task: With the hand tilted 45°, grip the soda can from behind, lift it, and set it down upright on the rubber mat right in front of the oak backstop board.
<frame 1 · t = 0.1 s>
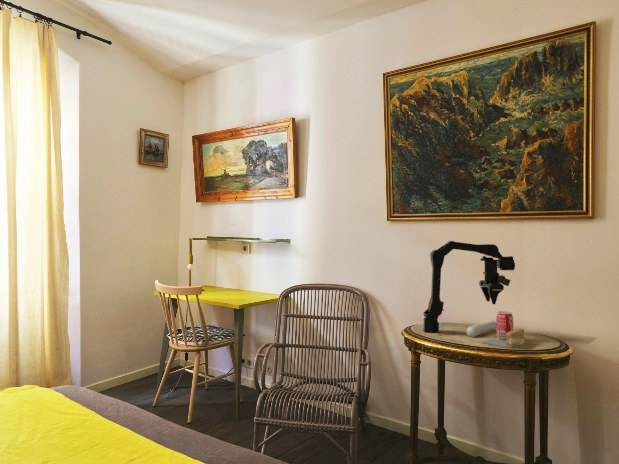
hand: (491, 302, 209), 15 cm above the table, tool pointing down, fingers open, 9 cm apart
soda can: (504, 339, 198), on the table
backstop: (515, 345, 186), on the table
tube: (481, 334, 210), on the table
mat: (499, 344, 188), on the table
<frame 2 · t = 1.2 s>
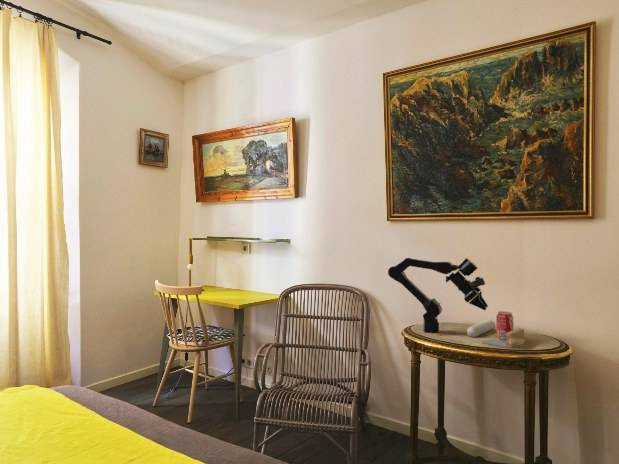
hand: (486, 308, 201), 13 cm above the table, tool tilted 45°, fingers open, 9 cm apart
nothing on the table moved.
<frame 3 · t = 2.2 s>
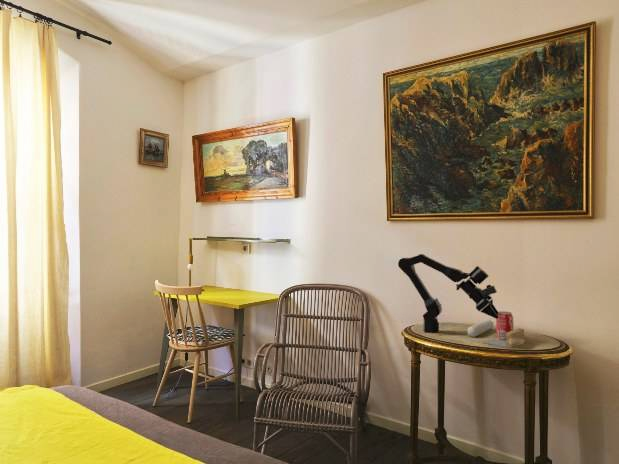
hand: (498, 316, 199), 10 cm above the table, tool tilted 45°, fingers open, 9 cm apart
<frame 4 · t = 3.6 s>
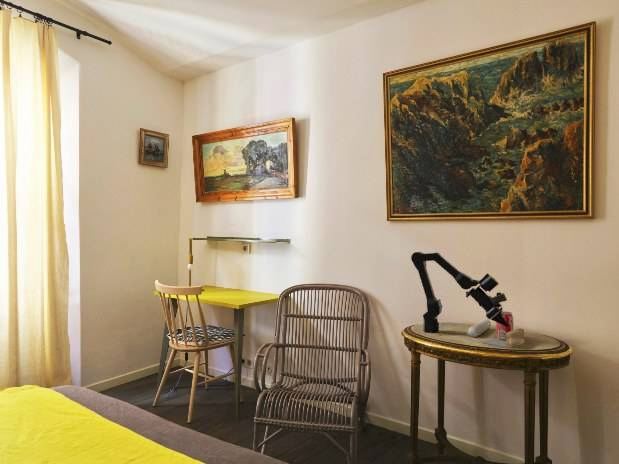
hand: (508, 324, 197), 7 cm above the table, tool tilted 45°, fingers closed on soda can, 7 cm apart
soda can: (504, 339, 198), on the table, touching gripper
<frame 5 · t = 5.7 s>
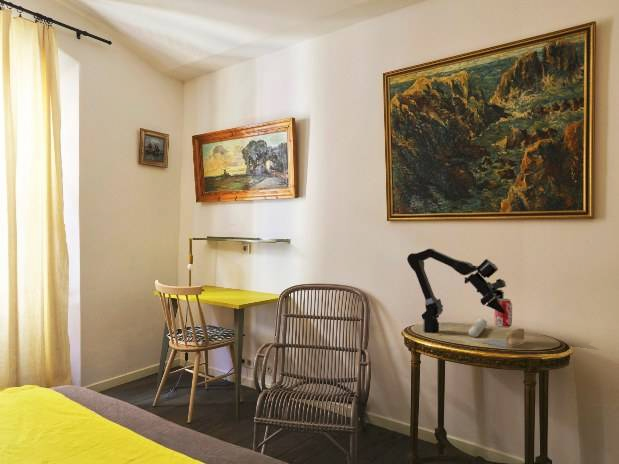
hand: (506, 311, 192), 13 cm above the table, tool tilted 45°, fingers closed on soda can, 7 cm apart
soda can: (503, 327, 192), point 6 cm above the table, touching gripper
when the fingers open (8 cm above the table, at t = 7.9 s): soda can stays where it is, resting on mat.
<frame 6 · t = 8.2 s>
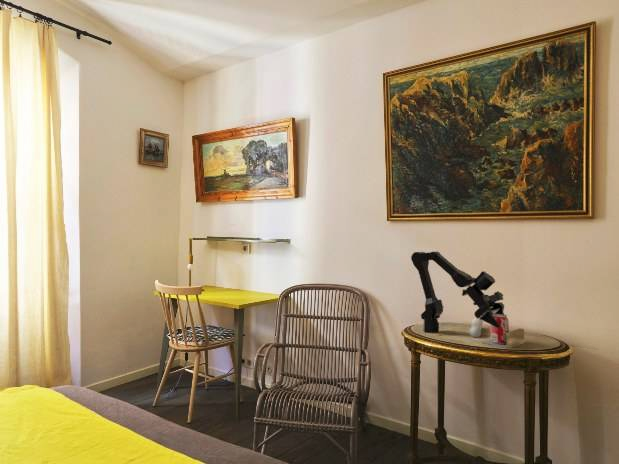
hand: (503, 325, 187), 8 cm above the table, tool tilted 45°, fingers open, 9 cm apart
soda can: (499, 343, 188), resting on mat
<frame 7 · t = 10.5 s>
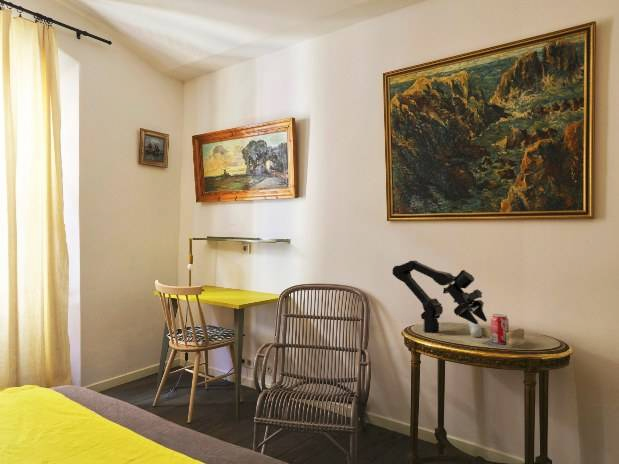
hand: (481, 322, 194), 8 cm above the table, tool tilted 45°, fingers open, 9 cm apart
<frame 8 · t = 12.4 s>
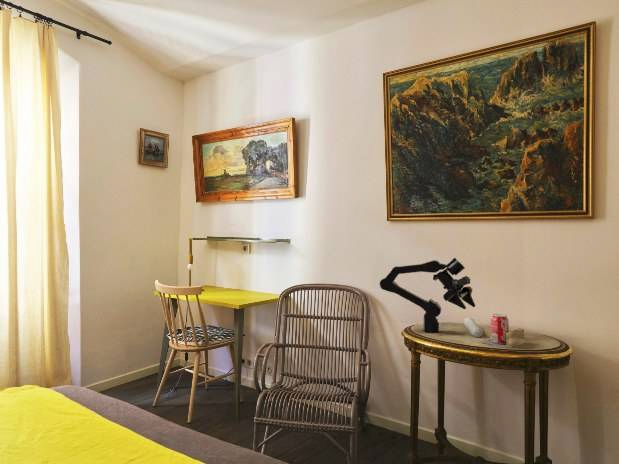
hand: (470, 307, 201), 14 cm above the table, tool tilted 45°, fingers open, 9 cm apart
at the end: soda can 0.2 cm off-centre on the mat, point 0.2 cm above the mat's base; soda can tilted 0°; the gripper is holding nothing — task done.
